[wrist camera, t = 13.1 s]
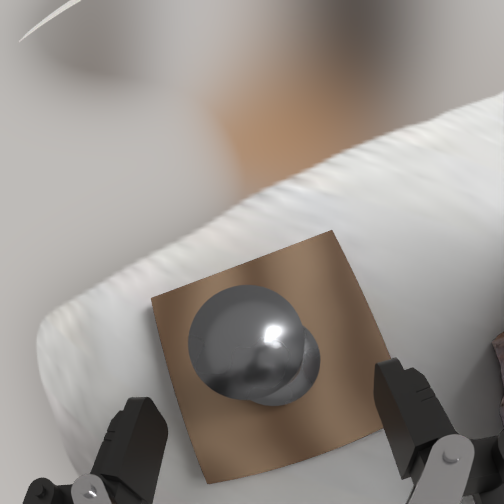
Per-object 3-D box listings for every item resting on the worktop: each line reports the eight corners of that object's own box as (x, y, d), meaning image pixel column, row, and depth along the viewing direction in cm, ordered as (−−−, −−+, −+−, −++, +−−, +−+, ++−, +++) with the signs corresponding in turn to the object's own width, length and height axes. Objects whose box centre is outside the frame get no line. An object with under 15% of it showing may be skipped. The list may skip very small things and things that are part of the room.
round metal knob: (300, 306, 20) (300, 225, 10) (332, 385, 17) (372, 394, 7) (220, 335, 20) (139, 286, 10) (247, 415, 17) (185, 454, 7)
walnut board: (330, 239, 23) (332, 229, 21) (404, 411, 17) (411, 413, 15) (159, 303, 23) (150, 298, 21) (213, 478, 17) (207, 484, 16)
